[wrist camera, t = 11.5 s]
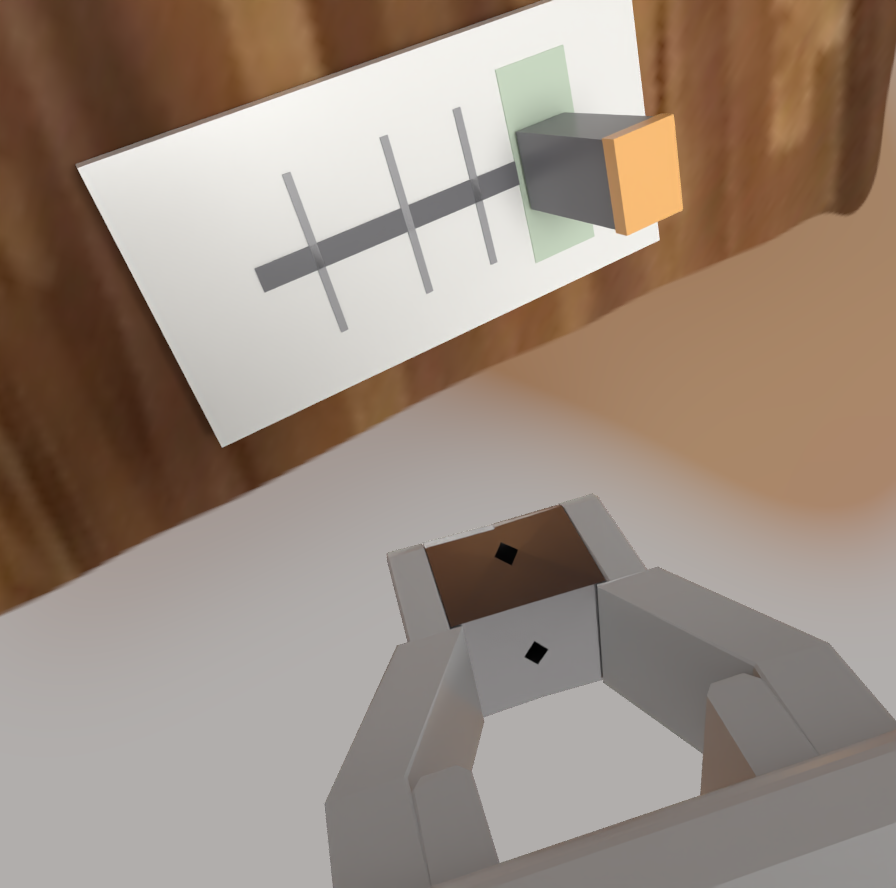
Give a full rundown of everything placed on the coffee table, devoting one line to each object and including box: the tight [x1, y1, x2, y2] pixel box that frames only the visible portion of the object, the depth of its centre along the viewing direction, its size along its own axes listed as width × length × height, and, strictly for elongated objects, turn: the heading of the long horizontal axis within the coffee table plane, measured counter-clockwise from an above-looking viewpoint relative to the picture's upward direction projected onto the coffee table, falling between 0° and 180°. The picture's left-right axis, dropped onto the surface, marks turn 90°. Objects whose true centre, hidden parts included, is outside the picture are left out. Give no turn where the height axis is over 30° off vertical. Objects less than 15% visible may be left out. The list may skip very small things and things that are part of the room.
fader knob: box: [516, 112, 683, 236], centre depth 36 cm, size 3×4×8 cm
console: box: [75, 0, 659, 448], centre depth 38 cm, size 28×14×2 cm, turn 107°
